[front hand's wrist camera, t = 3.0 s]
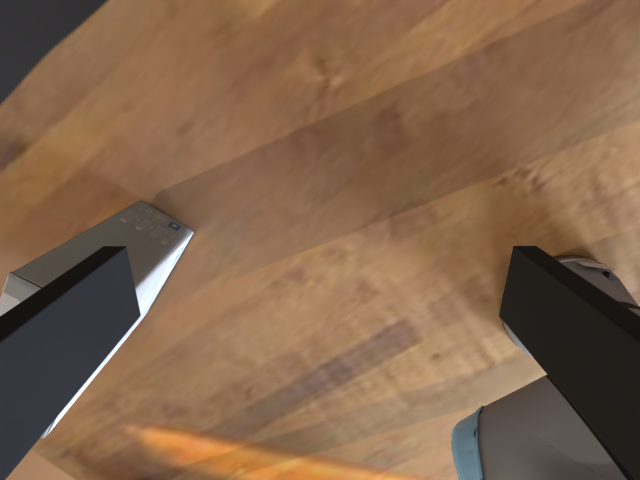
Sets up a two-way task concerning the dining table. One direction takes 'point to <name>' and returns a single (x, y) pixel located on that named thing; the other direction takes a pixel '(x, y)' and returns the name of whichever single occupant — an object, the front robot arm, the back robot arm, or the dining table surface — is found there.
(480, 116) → the dining table surface
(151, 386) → the dining table surface
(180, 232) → the hard drive box
